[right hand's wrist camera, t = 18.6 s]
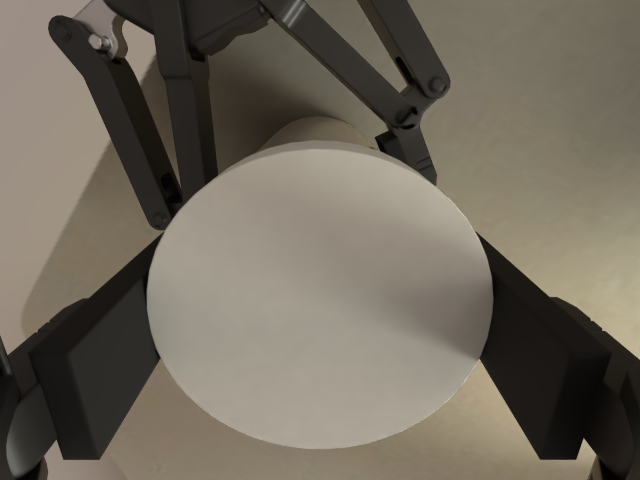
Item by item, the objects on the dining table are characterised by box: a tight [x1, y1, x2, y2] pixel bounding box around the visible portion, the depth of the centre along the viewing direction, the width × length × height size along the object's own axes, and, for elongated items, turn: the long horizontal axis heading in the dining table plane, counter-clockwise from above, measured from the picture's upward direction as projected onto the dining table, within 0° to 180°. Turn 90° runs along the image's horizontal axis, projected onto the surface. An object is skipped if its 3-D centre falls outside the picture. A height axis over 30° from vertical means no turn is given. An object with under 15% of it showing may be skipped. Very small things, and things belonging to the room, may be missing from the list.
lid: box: [147, 140, 493, 449], centre depth 11 cm, size 9×9×2 cm
